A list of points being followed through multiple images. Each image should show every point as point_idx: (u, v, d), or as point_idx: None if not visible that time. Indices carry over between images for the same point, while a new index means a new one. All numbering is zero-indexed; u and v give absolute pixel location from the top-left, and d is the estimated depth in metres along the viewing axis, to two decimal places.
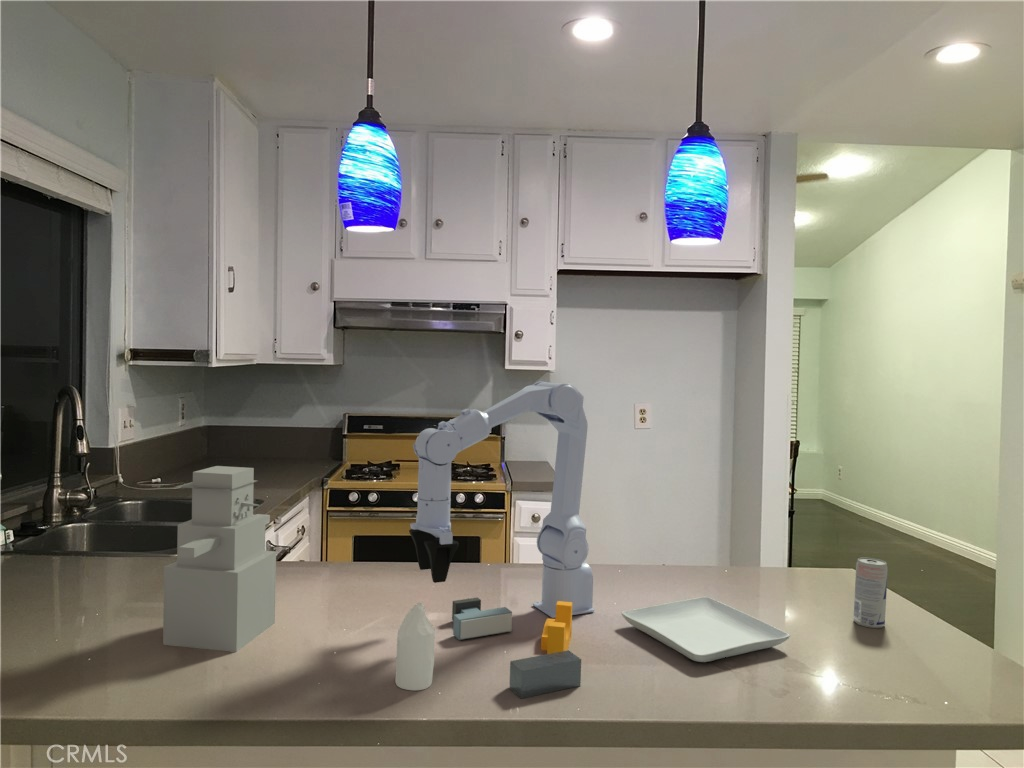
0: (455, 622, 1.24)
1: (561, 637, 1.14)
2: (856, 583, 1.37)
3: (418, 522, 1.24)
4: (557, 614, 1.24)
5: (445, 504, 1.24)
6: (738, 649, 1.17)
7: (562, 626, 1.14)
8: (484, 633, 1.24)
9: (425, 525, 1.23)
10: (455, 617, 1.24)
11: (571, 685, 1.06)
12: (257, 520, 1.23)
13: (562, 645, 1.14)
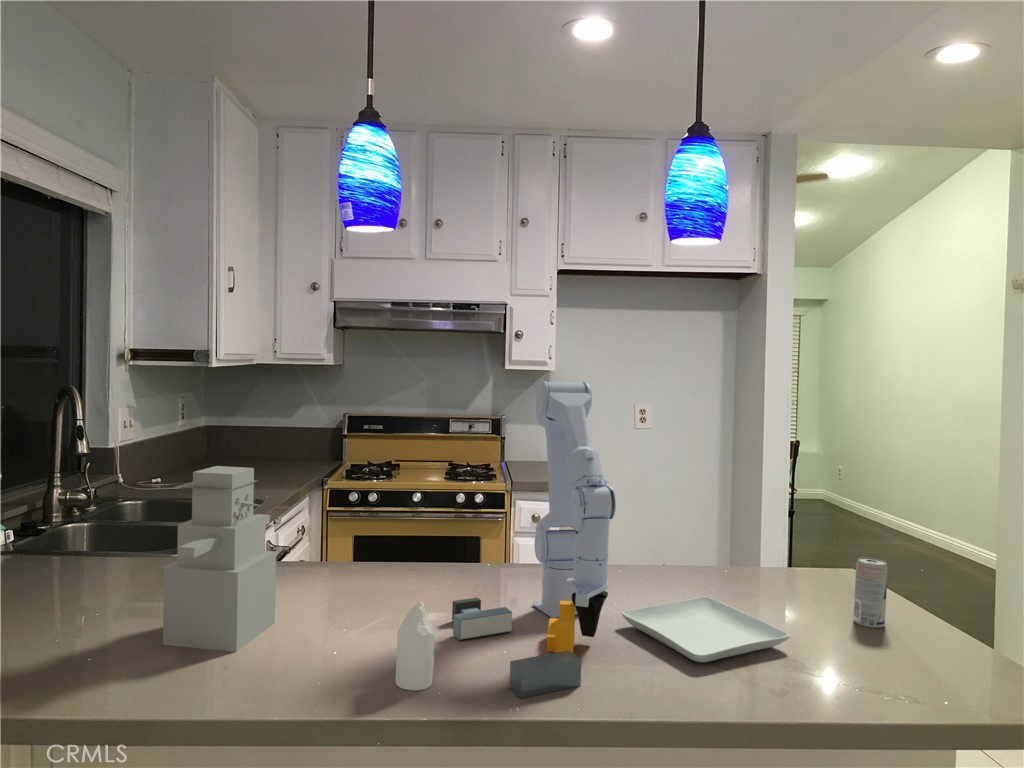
0: (455, 622, 1.24)
1: (569, 636, 1.13)
2: (856, 583, 1.37)
3: (573, 578, 1.23)
4: (561, 613, 1.23)
5: (595, 565, 1.20)
6: (738, 649, 1.17)
7: (570, 625, 1.14)
8: (484, 633, 1.24)
9: (576, 583, 1.21)
10: (455, 617, 1.24)
11: (571, 685, 1.06)
12: (257, 520, 1.23)
13: (570, 644, 1.13)
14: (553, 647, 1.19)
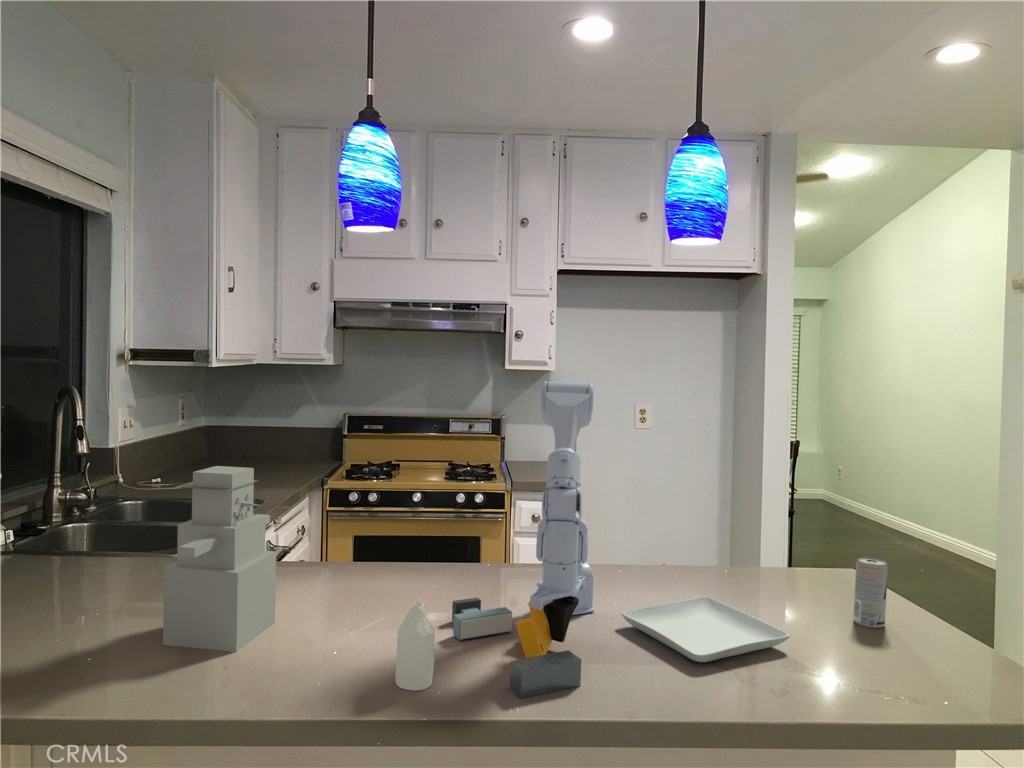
0: (455, 622, 1.24)
1: (531, 631, 1.12)
2: (856, 583, 1.37)
3: None
4: (532, 612, 1.22)
5: (558, 568, 1.17)
6: (738, 649, 1.17)
7: (529, 620, 1.13)
8: (484, 633, 1.24)
9: (542, 585, 1.19)
10: (455, 617, 1.24)
11: (571, 685, 1.06)
12: (257, 520, 1.23)
13: (535, 639, 1.12)
14: None
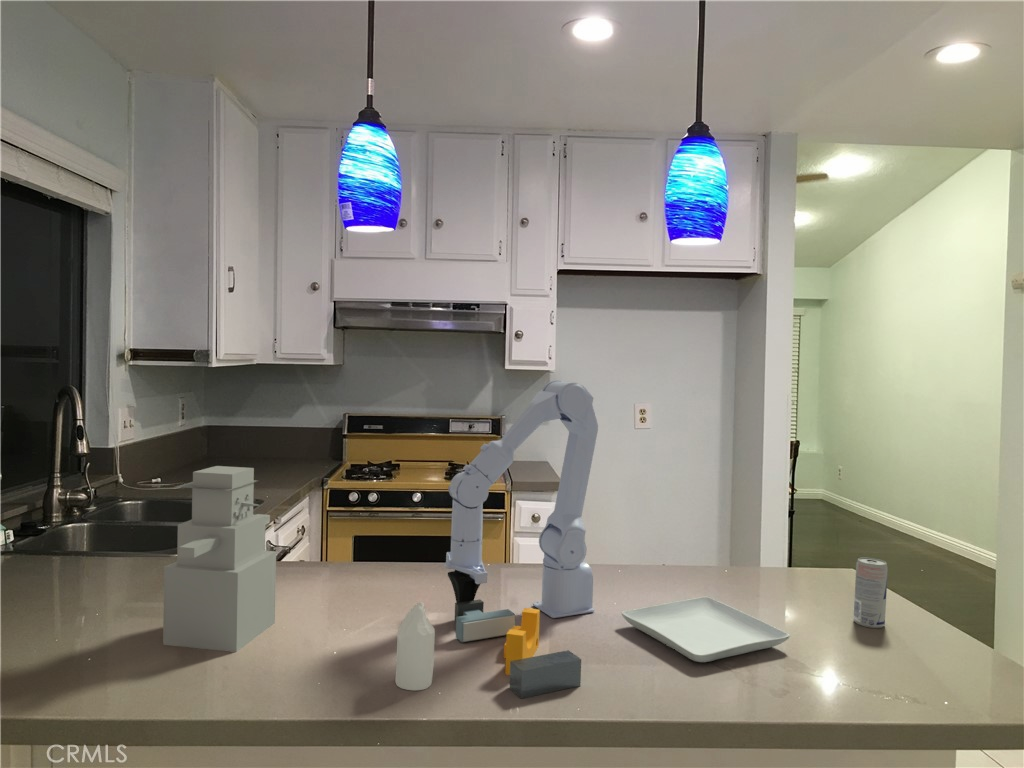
0: (458, 624, 1.23)
1: (519, 646, 1.10)
2: (856, 583, 1.37)
3: (452, 562, 1.31)
4: (523, 621, 1.20)
5: (478, 544, 1.31)
6: (738, 649, 1.17)
7: (521, 634, 1.10)
8: (487, 635, 1.23)
9: (459, 565, 1.30)
10: (458, 619, 1.23)
11: (571, 685, 1.06)
12: (257, 520, 1.23)
13: (521, 654, 1.10)
14: None
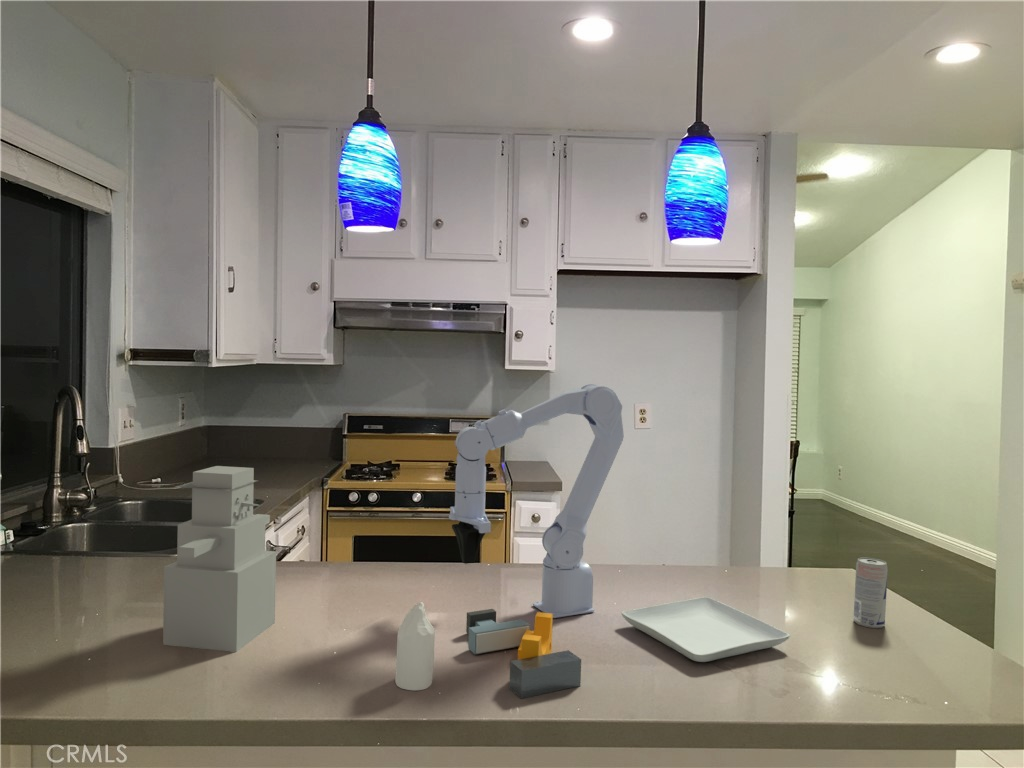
0: (470, 635, 1.18)
1: (535, 651, 1.08)
2: (856, 583, 1.37)
3: (456, 513, 1.35)
4: (536, 626, 1.18)
5: (481, 496, 1.34)
6: (738, 649, 1.17)
7: (537, 640, 1.08)
8: (501, 647, 1.18)
9: (463, 516, 1.33)
10: (470, 630, 1.18)
11: (571, 685, 1.06)
12: (257, 520, 1.23)
13: None
14: None
